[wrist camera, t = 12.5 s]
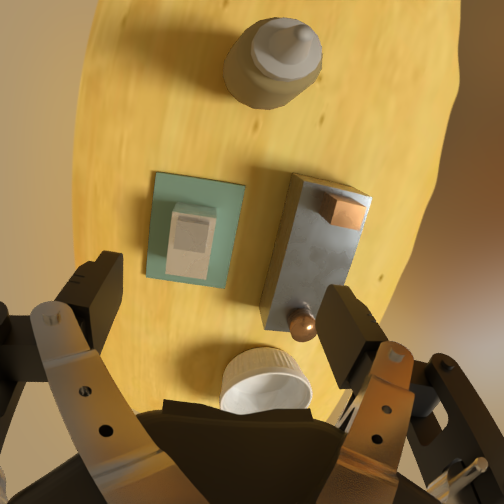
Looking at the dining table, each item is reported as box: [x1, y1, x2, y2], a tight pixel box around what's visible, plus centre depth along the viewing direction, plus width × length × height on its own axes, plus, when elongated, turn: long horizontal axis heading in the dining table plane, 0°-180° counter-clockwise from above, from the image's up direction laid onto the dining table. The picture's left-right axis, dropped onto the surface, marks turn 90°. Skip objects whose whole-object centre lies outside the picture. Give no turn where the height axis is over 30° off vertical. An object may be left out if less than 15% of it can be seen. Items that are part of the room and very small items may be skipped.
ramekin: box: [219, 347, 312, 415], centre depth 43 cm, size 13×13×7 cm
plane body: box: [259, 173, 372, 342], centre depth 35 cm, size 18×8×9 cm, turn 170°
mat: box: [146, 172, 245, 289], centre depth 36 cm, size 13×10×1 cm
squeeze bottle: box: [223, 17, 323, 110], centre depth 22 cm, size 8×8×18 cm
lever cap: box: [165, 202, 217, 280], centre depth 33 cm, size 7×4×5 cm, turn 170°
